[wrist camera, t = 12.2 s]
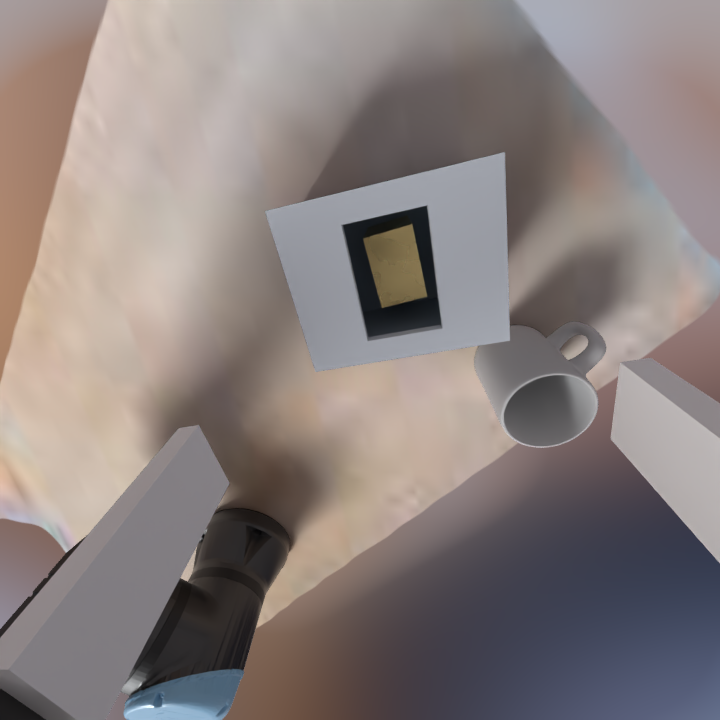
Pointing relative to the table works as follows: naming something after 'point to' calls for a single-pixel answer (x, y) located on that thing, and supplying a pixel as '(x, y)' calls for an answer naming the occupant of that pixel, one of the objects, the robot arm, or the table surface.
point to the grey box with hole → (437, 258)
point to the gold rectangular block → (395, 261)
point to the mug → (541, 383)
